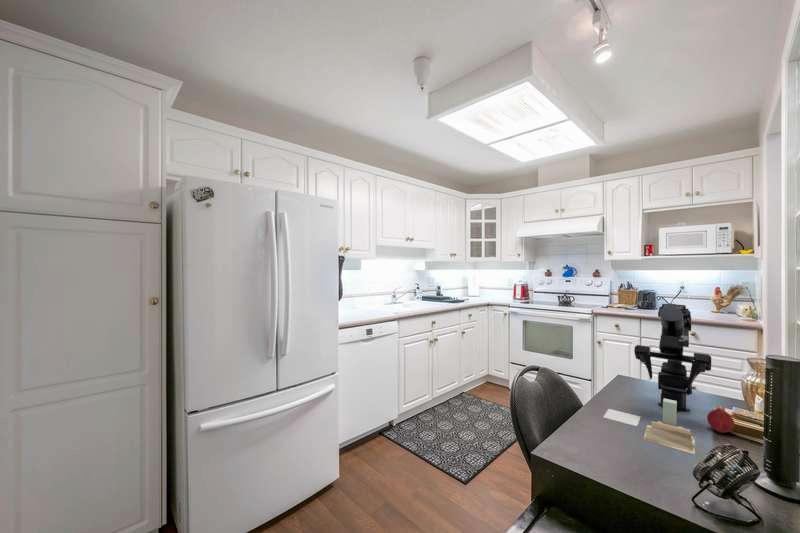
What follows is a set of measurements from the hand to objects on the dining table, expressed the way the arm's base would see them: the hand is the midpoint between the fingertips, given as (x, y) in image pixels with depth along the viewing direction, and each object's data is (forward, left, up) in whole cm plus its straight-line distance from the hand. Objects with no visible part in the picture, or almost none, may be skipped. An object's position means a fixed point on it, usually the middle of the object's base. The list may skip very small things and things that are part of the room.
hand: (669, 382), depth 102 cm
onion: (-13, +3, -14) cm, 20 cm away
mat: (+10, -7, -14) cm, 19 cm away
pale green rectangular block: (+5, +5, -14) cm, 15 cm away
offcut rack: (+6, +6, -14) cm, 17 cm away
